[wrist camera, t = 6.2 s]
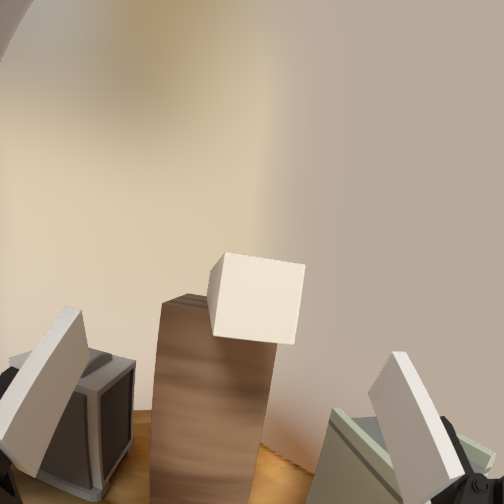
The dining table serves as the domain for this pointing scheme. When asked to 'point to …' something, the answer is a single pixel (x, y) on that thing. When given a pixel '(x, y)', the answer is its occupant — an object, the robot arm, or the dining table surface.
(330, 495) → the grey-green storage box
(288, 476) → the dining table surface
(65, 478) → the grey paneled box
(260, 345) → the brown wooden block
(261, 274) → the rail
